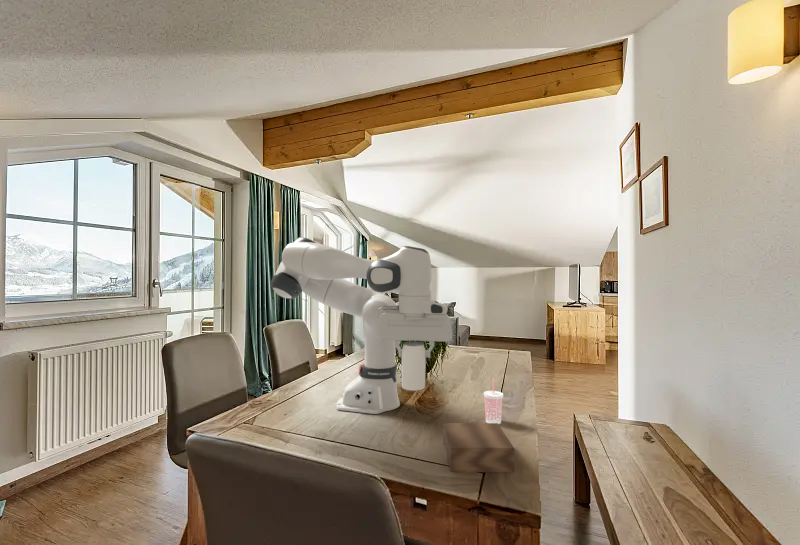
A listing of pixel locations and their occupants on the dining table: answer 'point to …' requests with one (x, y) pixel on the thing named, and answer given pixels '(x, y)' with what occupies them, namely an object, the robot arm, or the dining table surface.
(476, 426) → the riser block
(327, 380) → the dining table surface
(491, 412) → the beverage cup
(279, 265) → the robot arm
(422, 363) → the can
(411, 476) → the dining table surface
